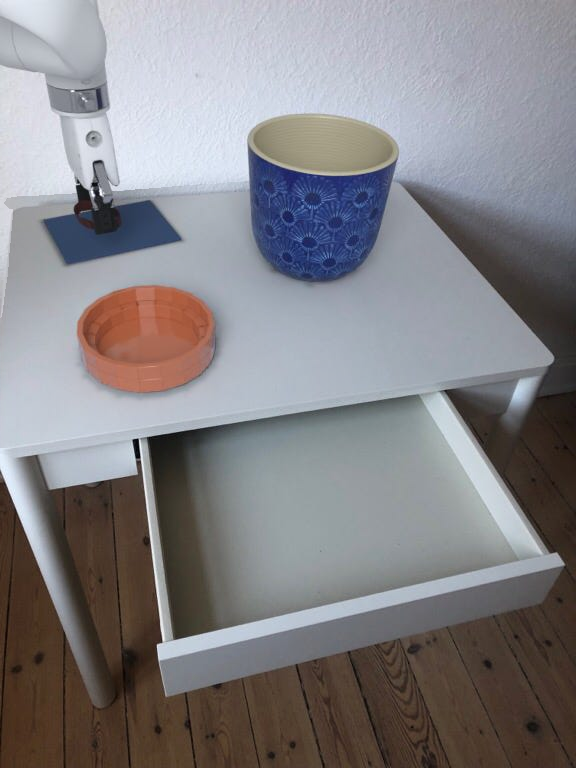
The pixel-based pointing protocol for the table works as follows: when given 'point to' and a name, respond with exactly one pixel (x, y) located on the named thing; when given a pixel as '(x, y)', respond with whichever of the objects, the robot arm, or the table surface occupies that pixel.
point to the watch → (88, 205)
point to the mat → (111, 233)
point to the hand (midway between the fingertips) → (98, 219)
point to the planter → (318, 192)
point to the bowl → (146, 338)
